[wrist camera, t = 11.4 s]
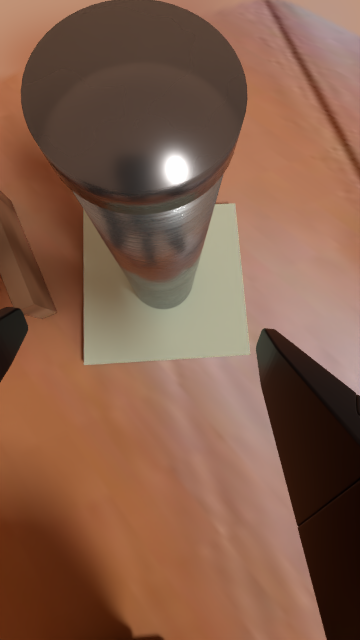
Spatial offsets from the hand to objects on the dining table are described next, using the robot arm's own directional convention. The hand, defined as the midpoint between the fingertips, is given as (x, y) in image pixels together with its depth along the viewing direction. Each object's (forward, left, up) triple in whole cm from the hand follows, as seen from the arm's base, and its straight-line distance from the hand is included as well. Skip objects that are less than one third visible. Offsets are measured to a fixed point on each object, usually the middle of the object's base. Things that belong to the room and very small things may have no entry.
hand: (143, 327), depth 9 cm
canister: (+5, -1, -8) cm, 9 cm away
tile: (+5, -1, -9) cm, 10 cm away
